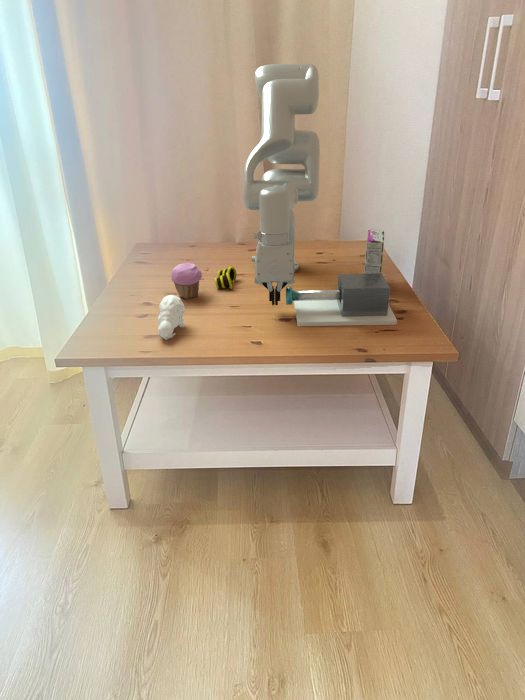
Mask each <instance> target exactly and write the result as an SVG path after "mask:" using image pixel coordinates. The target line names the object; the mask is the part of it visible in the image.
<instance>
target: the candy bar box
mask: <svg viewBox="0 0 525 700" xmlns="http://www.w3.org/2000/svg"><path fill="white" fill-rule="evenodd" d="M366 237H367V238H366V245H365V257H364V271H363V274H375V273H382V268H383V257H384V246H385V244H384V243H385V229H384V230H383V229H367V236H366Z"/></svg>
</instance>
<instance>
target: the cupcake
mask: <svg viewBox="0 0 525 700" xmlns="http://www.w3.org/2000/svg"><path fill="white" fill-rule="evenodd" d="M202 277H203V273H202V271H201V270H200V269H199V268H198V266H197V265H196V264H194V263H192V262H191V263H189V262H188V263H186V262H185V263H179V264H178V265H176V266H175V267H173V269H172V271H171V276H170V278H171V279H170V280H171V282H172V283H174V287H175V290H176V292H177V294H178V295H179V296H180V297H181V298H184V299H185V300H187V299H192V298H195V297H198V295H199V291H200V289H199V288H200V281H201V280H202ZM179 296H178V297H179Z"/></svg>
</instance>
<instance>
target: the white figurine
mask: <svg viewBox="0 0 525 700" xmlns="http://www.w3.org/2000/svg"><path fill="white" fill-rule="evenodd" d="M158 307H159V310H160V312H159V315H158V317H157V324H158V328H157V334H158V335H159V337H161V338H162V339H164V340H165V341H167V340H169V339H172V338H173V337H174V336H175V335H176V332H175V333H173V332H174V329H176V328H177V327H178V326H179V327H180V328H184V327H185V324H184V318H183V317H184V313H185V304H184V303H183V301H182V299H181V298H180V297H179V296H177V295H174V294H169V295H166V296H164V297H163V298H162V300H161V301H160V303H159V306H158Z"/></svg>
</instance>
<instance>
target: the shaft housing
mask: <svg viewBox="0 0 525 700" xmlns="http://www.w3.org/2000/svg"><path fill="white" fill-rule="evenodd" d="M337 275H338V276H337V290H341V291H342V294H341V300H337V303H338V306H339V309H340V312H341V315H342V317H356V316H387V313H388V304H389V305H390V303H389V302H390V295H391V287H390V285H389V284H388V282H387V280H386V278H385V275H384V274H383V273H382V272H381V273H375V274H364V273H338V274H337Z"/></svg>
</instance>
